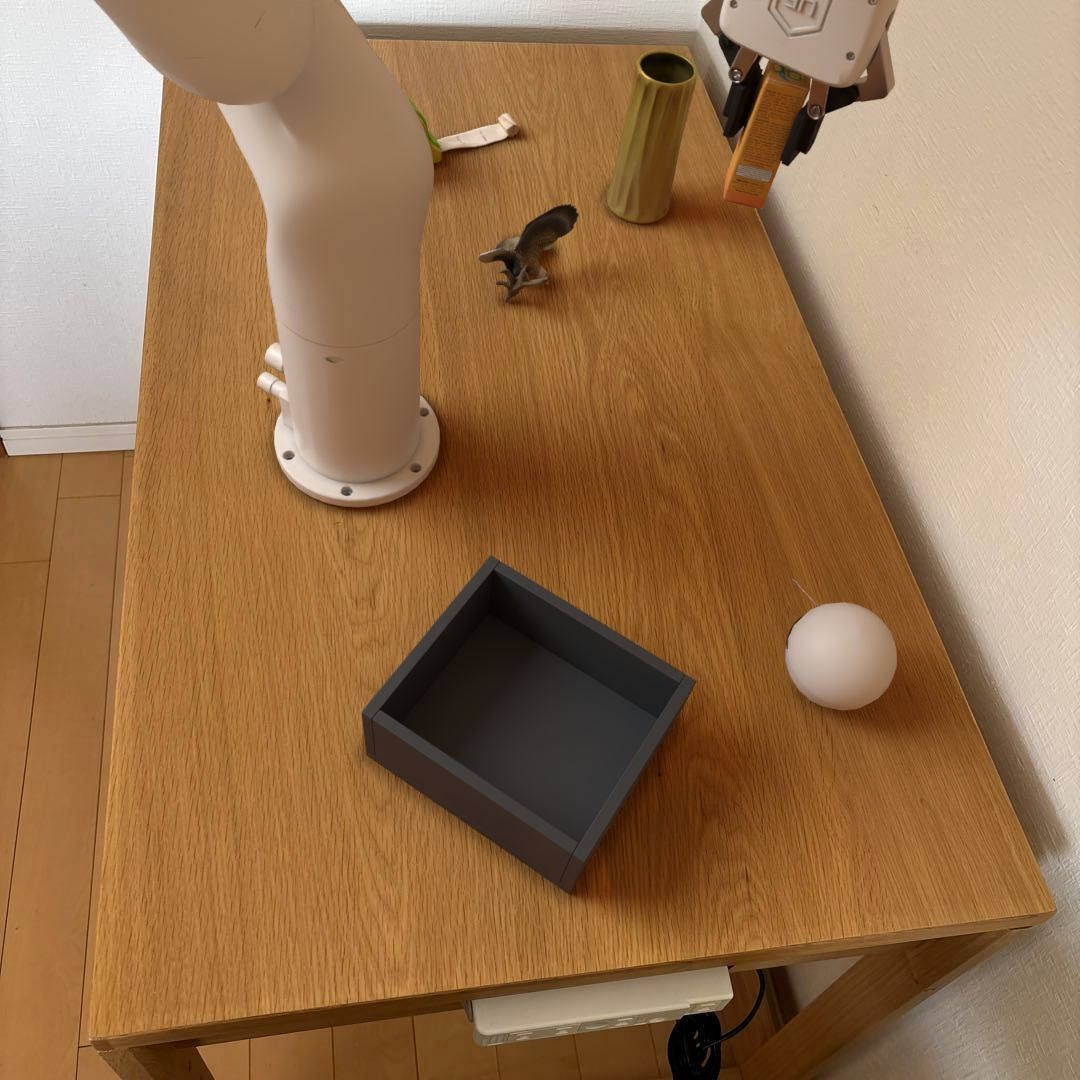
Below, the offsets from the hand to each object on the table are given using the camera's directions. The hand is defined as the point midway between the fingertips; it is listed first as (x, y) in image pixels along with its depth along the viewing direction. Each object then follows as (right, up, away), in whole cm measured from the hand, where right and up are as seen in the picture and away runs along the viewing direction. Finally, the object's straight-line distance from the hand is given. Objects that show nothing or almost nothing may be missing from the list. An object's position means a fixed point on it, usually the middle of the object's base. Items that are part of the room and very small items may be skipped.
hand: (764, 140), depth 74 cm
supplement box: (-1, -3, +4) cm, 5 cm away
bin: (-17, -42, -6) cm, 46 cm away
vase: (-7, +3, +25) cm, 26 cm away
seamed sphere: (+4, -38, 0) cm, 38 cm away
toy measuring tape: (-27, +9, +26) cm, 39 cm away
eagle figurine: (-17, -5, +18) cm, 26 cm away
